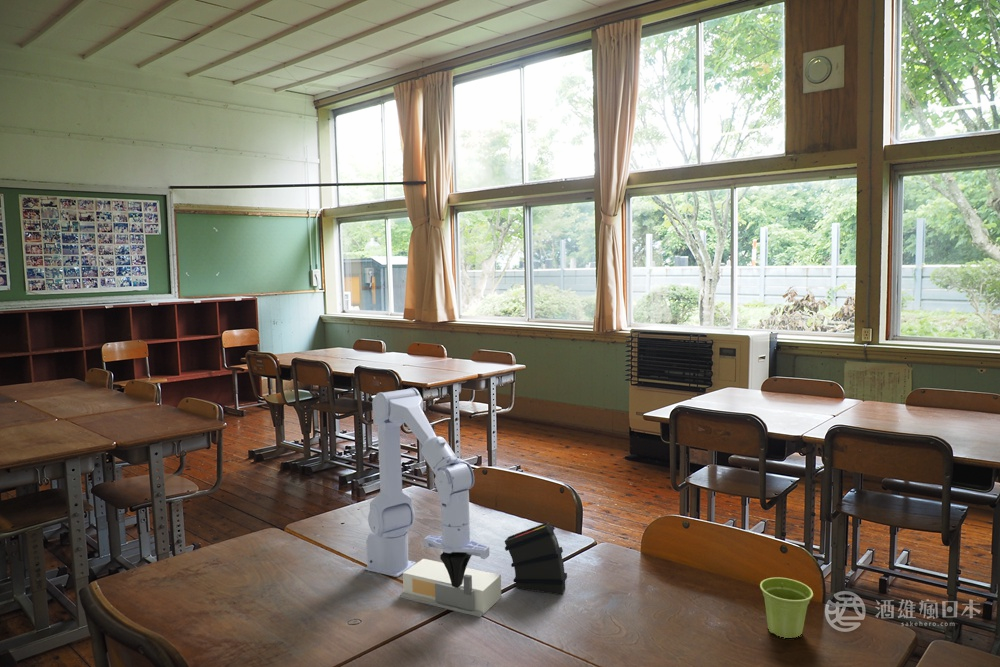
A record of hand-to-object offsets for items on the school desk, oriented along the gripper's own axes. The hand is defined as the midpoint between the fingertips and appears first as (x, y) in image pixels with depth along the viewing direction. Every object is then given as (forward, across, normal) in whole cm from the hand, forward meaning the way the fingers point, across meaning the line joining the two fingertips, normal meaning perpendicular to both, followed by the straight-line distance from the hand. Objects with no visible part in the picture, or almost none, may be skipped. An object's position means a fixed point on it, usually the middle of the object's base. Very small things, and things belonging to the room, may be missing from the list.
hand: (457, 585), depth 142 cm
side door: (+5, -1, 0) cm, 5 cm away
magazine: (+6, +11, +16) cm, 20 cm away
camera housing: (+6, -4, +5) cm, 9 cm away
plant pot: (+6, +62, +20) cm, 65 cm away
